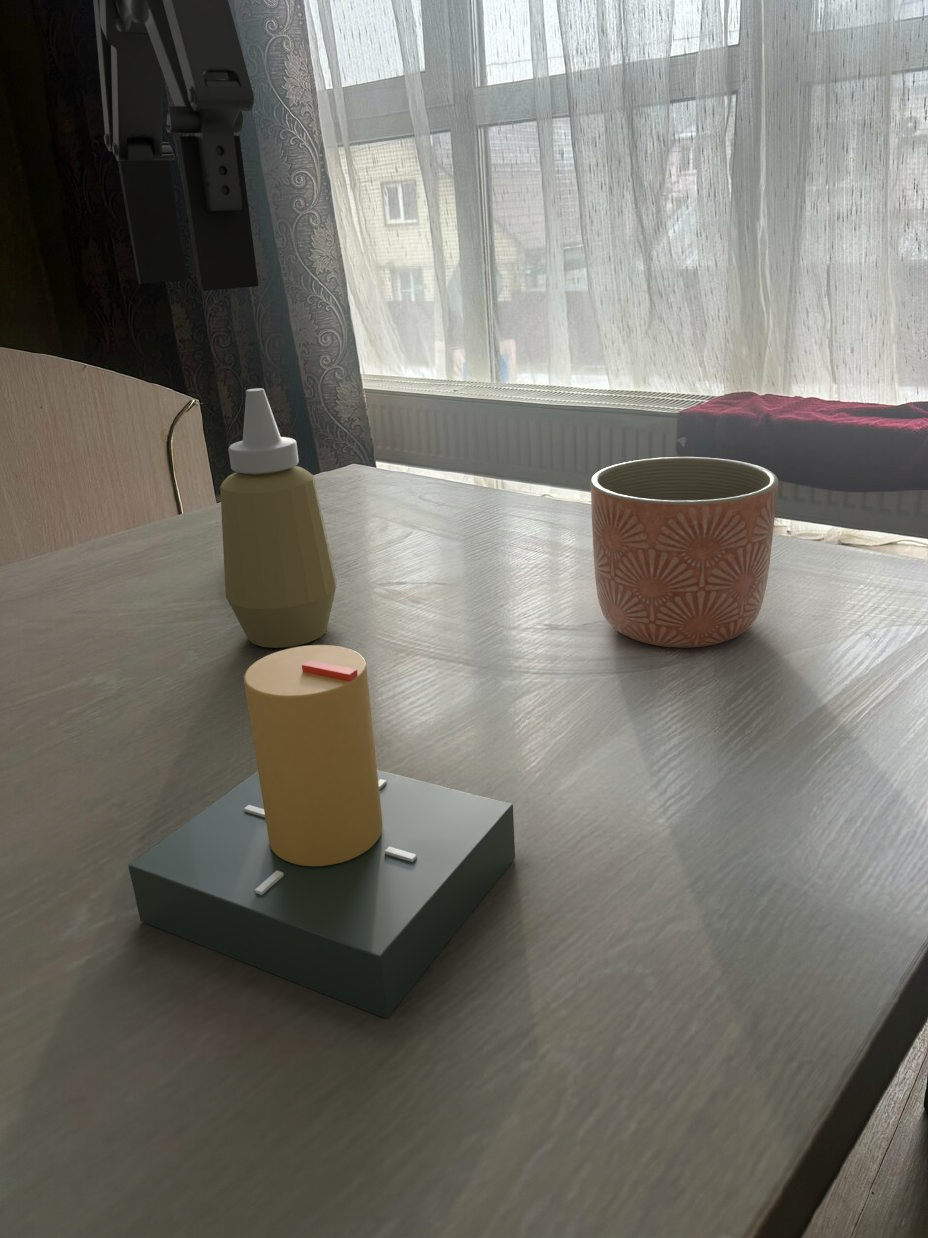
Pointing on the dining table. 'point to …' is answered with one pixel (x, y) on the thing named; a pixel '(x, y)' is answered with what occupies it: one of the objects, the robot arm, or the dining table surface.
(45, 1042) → the dining table surface
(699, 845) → the dining table surface
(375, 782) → the dial
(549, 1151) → the dining table surface
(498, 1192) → the dining table surface
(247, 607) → the squeeze bottle
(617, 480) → the planter
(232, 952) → the panel
